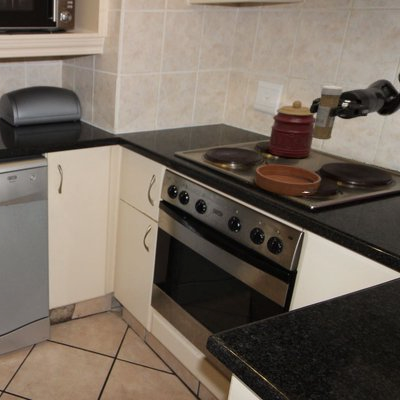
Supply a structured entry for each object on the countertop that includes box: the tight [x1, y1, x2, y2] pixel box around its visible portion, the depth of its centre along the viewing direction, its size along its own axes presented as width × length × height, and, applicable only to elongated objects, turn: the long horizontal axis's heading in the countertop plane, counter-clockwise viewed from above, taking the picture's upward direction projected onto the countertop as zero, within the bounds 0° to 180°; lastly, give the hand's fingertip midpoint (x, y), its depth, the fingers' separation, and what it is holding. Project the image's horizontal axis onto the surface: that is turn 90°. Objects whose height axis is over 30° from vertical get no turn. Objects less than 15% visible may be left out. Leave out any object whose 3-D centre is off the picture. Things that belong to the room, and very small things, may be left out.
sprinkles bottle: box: [312, 85, 343, 140], centre depth 124 cm, size 5×5×14 cm
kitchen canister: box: [267, 100, 316, 159], centre depth 159 cm, size 13×13×18 cm
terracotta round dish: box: [253, 164, 322, 197], centre depth 133 cm, size 16×16×4 cm
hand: (321, 110), depth 123 cm, fingers closed on sprinkles bottle, 4 cm apart
